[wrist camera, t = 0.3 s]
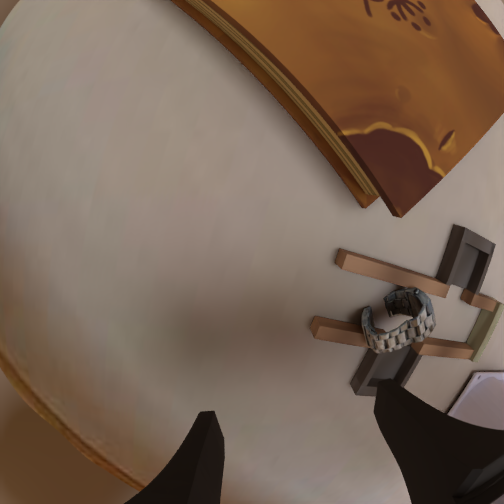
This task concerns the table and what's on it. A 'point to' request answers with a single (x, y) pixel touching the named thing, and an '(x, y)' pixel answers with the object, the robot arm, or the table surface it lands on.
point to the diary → (372, 81)
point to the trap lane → (450, 272)
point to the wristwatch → (408, 332)
